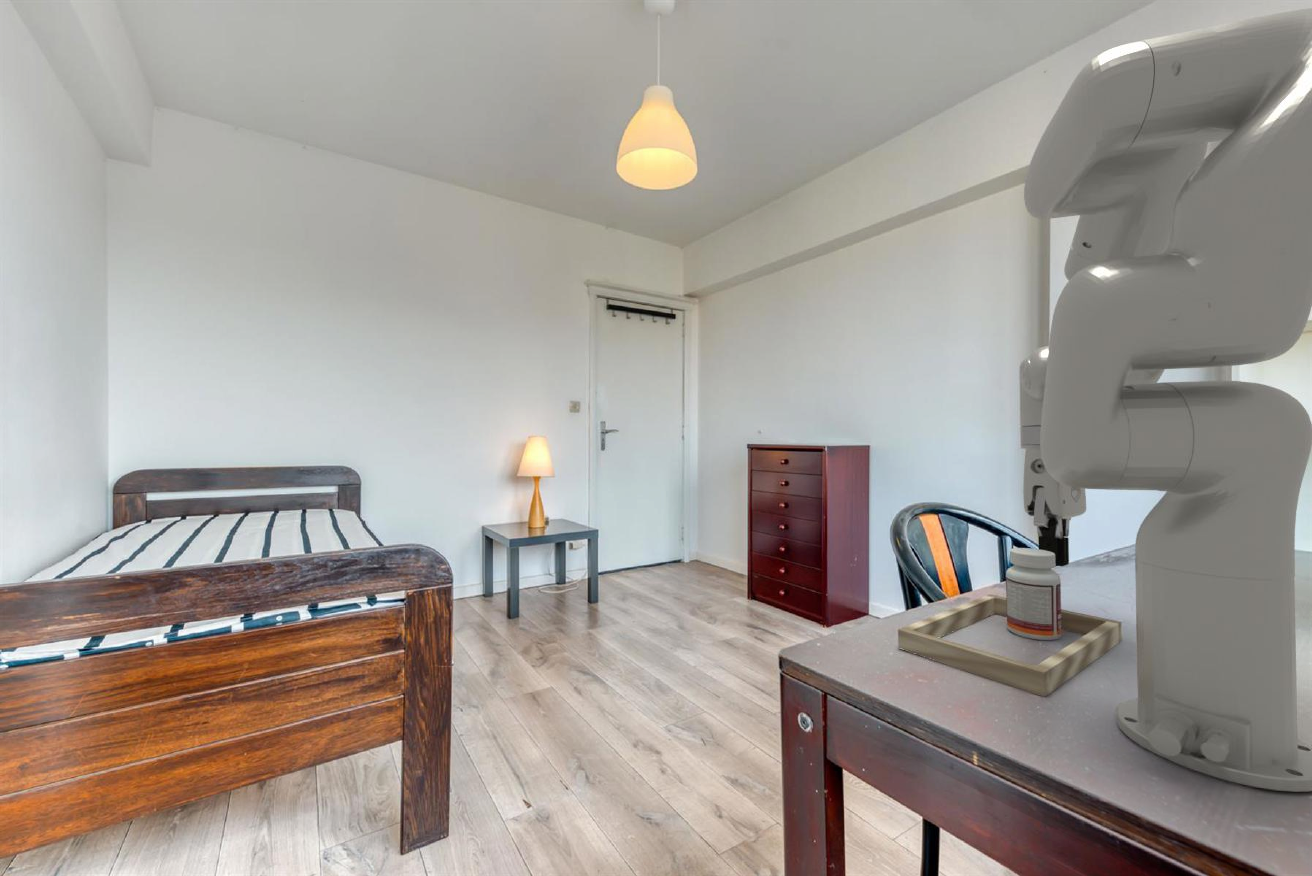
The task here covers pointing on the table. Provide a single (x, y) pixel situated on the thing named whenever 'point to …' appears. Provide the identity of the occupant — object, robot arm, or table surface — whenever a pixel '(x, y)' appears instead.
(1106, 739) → the table surface
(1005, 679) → the tray frame
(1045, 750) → the table surface
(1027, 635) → the pill bottle
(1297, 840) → the table surface
